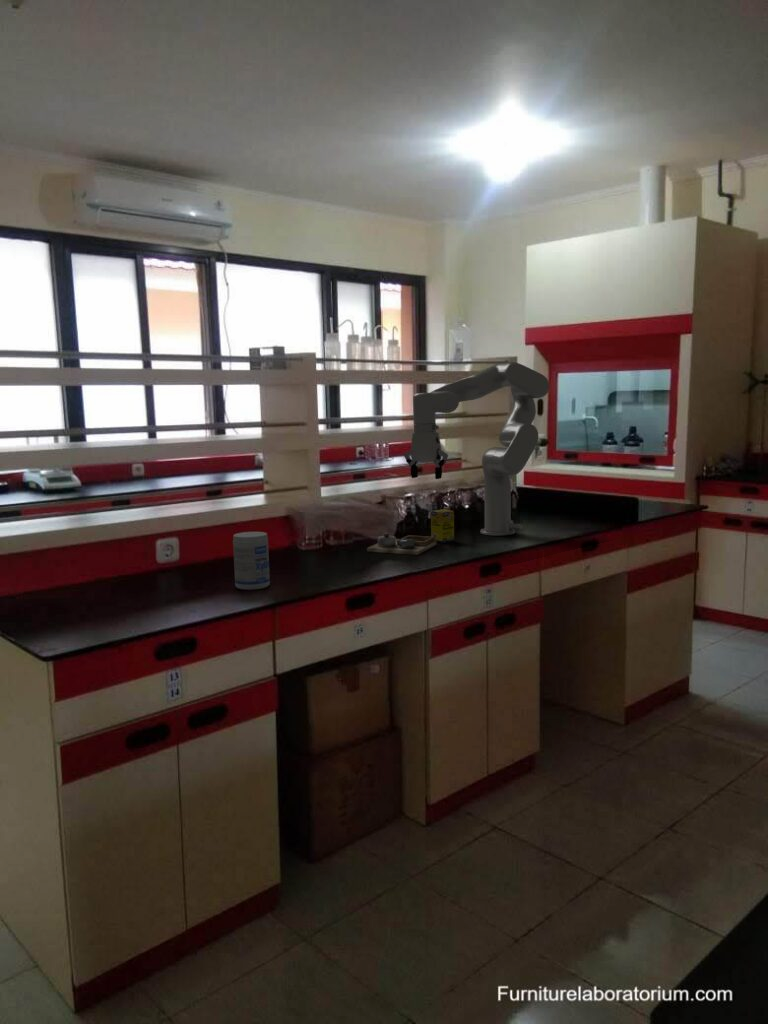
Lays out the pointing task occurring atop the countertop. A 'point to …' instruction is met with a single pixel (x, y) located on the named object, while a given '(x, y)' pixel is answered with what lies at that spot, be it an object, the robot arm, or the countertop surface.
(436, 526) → the supplement box
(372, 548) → the carrier board
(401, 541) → the seated puck
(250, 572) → the supplement tub
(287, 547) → the countertop surface
